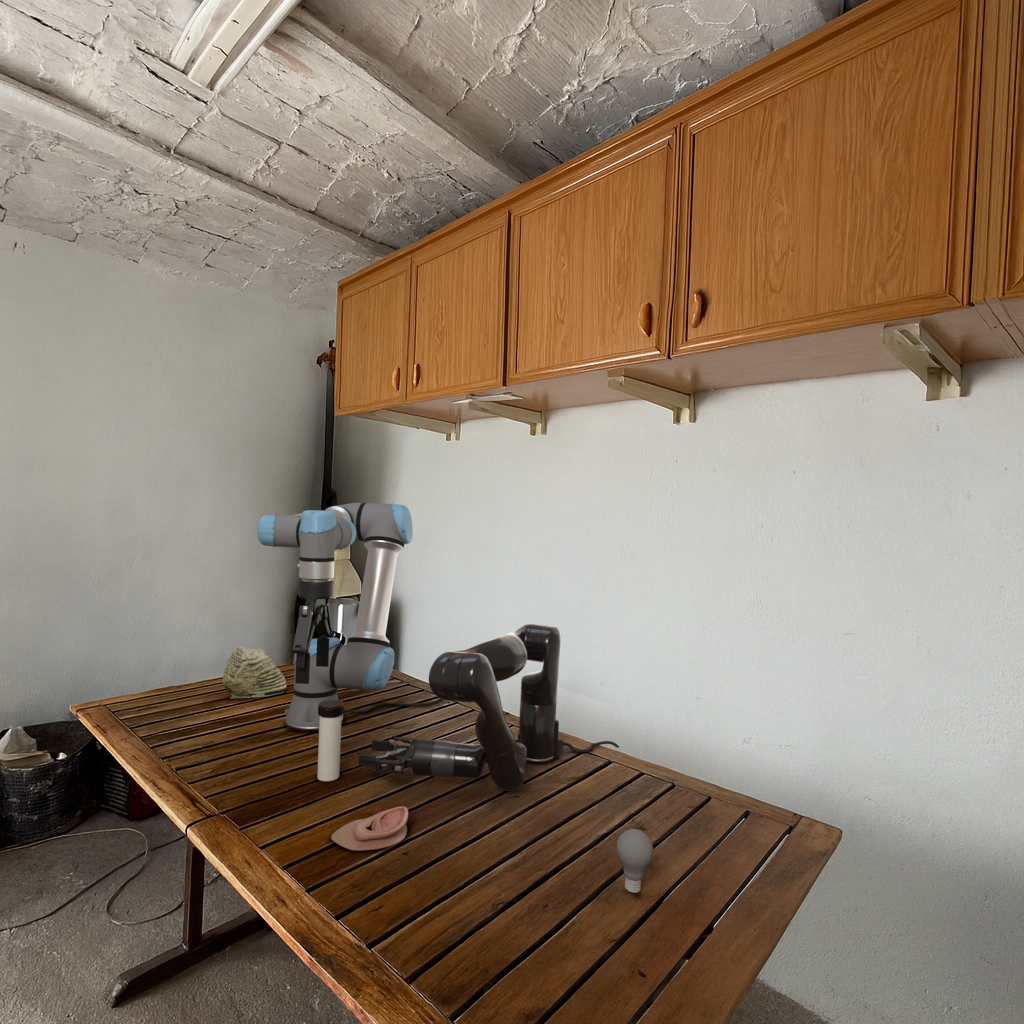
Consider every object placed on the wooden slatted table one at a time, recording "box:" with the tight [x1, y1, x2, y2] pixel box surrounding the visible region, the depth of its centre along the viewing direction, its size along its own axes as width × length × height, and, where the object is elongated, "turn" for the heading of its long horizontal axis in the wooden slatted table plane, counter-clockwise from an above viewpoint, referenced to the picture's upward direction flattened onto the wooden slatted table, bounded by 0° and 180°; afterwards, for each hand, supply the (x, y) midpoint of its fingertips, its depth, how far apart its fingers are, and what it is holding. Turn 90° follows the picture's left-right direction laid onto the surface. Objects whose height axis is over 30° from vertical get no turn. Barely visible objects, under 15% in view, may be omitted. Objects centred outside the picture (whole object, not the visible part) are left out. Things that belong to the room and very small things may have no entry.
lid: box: [318, 699, 345, 718], centre depth 143 cm, size 6×6×2 cm
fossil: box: [222, 646, 288, 699], centre depth 198 cm, size 9×18×15 cm, turn 132°
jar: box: [316, 715, 342, 782], centre depth 143 cm, size 5×5×16 cm
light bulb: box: [615, 828, 654, 894], centre depth 106 cm, size 6×6×10 cm
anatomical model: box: [330, 805, 409, 852], centre depth 119 cm, size 13×4×12 cm
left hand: (312, 674), depth 141 cm, fingers open, 13 cm apart
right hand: (365, 752), depth 142 cm, fingers open, 8 cm apart
